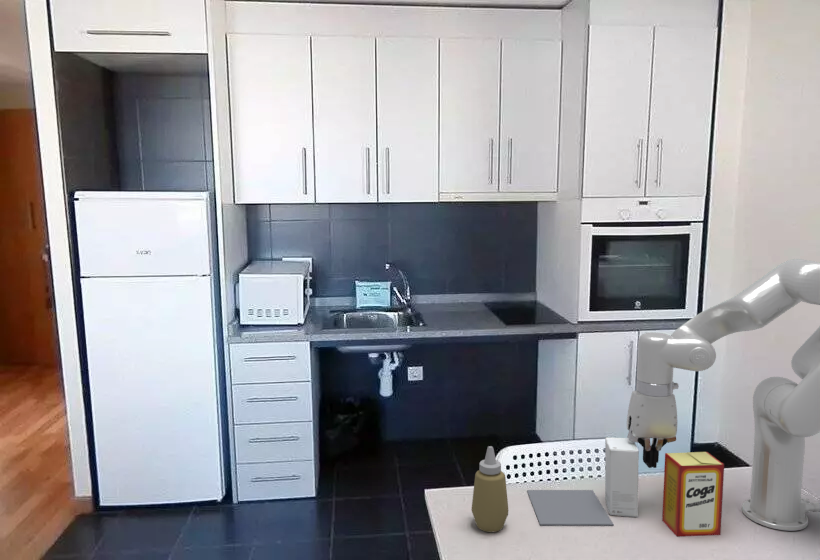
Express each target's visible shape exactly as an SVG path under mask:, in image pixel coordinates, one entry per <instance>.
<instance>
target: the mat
mask: <svg viewBox="0 0 820 560" xmlns="http://www.w3.org/2000/svg"><path fill="white" fill-rule="evenodd" d="M526 492H527V495H528V498H529V501H530V503H531V505H532V506H531V507H532V508H533V511H534V513H535V516H536V518H537V522H538V524H539V526H540V527H545V526H546V527H615V526H614V525H615V524H614V523H613V521H612V519H611V517H610V516H609V513H608V512H607V511H606V509H605V508H604V506H603V504H602V503H601V501H600V500H599V497H597V495H596V493H595V492H594V489H527V490H526Z"/></svg>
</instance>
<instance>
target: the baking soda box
mask: <svg viewBox="0 0 820 560" xmlns="http://www.w3.org/2000/svg"><path fill="white" fill-rule="evenodd" d="M663 474H664V476H663V492H662V493H663V495H662V496H663V497H662V516H661V517H662V518H661V522H663V523H664V524H665V525H666V527H668V529H669V530H670V531H671V532H672V533H673V534H674V535H675V537H679V538H680V537H700V536H702V537H705V536H721V530H722V529H721V528H722V514H723V511H722V510H723V497H724V496H723V495H724V494H723V493H724V477H725V463H724V462H721V461H720V460H719V459H717V458H716V457H715V456H714V455H712V454H711V453H709V452H708V451H694V452H693V451H692V452H665V453H664V472H663Z"/></svg>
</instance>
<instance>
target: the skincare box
mask: <svg viewBox="0 0 820 560" xmlns="http://www.w3.org/2000/svg"><path fill="white" fill-rule="evenodd" d="M604 440H605V442H604V443H605V445H604V448H605V449H604V451H605V453H604V454H605V455H604V457H605V459H604V460H605V463H604V465H605V469H604V470H605V471H604V476H605V477H604V479H605V480H604V481H605V482H604V483H605V486H604V489H605V490H604V500H605V504H606V508H607V511H608V512H607V513H608V515H610V516H616V517H617V516H618V517H629V518H630V517H631V518H638V517H639V513H638V512H639V452H640V451H639V448H638V447H637V444H636V442H633V441H630V440H629V439H628V438H627V437H605V439H604Z"/></svg>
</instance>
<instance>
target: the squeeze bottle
mask: <svg viewBox="0 0 820 560" xmlns="http://www.w3.org/2000/svg"><path fill="white" fill-rule="evenodd" d="M495 454H496V453H495V450H494V446H492V445H490V446H489V445H488V446H487V449H486V453H485V457H484V459H482V460H480V462H479V466H478V467H479V470H477V471H476V472H475V474H474V481H473V482H474V483H473V492H472V493H473V494H472V501H471V513H472V516H473V519H474V522H475V525H476V527H477V528H478V529H479V530H480V531H483V532H487V533H495V532H500V531H501V530H502V529H503V528H504V526H505V523H506V520H507V517H508V515H509V501H508V491H507V490H508V489H507V478H506V475H505V474H506V473H504V471H502V463H501V461H499V460H497V459H496V455H495Z"/></svg>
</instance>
